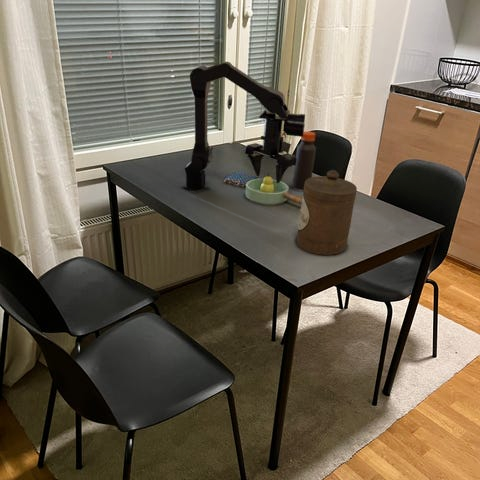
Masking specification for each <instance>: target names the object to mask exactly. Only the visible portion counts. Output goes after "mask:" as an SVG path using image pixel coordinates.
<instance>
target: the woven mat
mask: <svg viewBox="0 0 480 480" xmlns="http://www.w3.org/2000/svg"><path fill="white" fill-rule="evenodd" d="M254 179H259V176H255V175H252V174H247V173H242V172H240V171H237V172H236V171H234V172H232V173H230V174H229V175H226V176H225V177H223V182H224V183H228V184H232V185H234V186H240V187H243V188H244V187H246V184H247V182H249V181H250V180H254Z"/></svg>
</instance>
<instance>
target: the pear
mask: <svg viewBox="0 0 480 480" xmlns="http://www.w3.org/2000/svg"><path fill="white" fill-rule="evenodd" d="M262 179H263V183H262V184H261V186H260V191H261V192H264V193H273V192H274V185H273V184H272V183H273V180H274V178H272V176H270V173H269V172H268V173H267V175H266V176H265V177H263V178H262Z"/></svg>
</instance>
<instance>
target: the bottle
mask: <svg viewBox="0 0 480 480" xmlns="http://www.w3.org/2000/svg"><path fill="white" fill-rule="evenodd" d="M300 141H301V142H300V143H299V144H298V145H297V146H296V153H295V156H296V158H297V161H296V164H295V165H294V170H293V176H292V177H293V178H292V184H291V185H292V188H293V189H296V190H299V191H300V190H301V191H304V184H305V181H306V180H307V179H309V178H312V177H313V172H314V166H315V165H314V164H315V158H316V151H317V147H316V146H315V145H314V143H315V141H316V133H315V132H313V131H304V134H303V137H300Z"/></svg>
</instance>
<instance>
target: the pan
mask: <svg viewBox="0 0 480 480" xmlns="http://www.w3.org/2000/svg"><path fill="white" fill-rule="evenodd" d="M263 179H264V178H258V179H254V180H250V181H249V182H247V184H246V186H245V193H244V195H245V198H247V199H249V200H250V201H252V202H255V203H259V204H265V205H274V204H275V205H276V204H277V205H278V204H282V203H285V202H286V201H288V199H285V198H284V197H283V194H284V193H289V189H290V188H289V185H288V184H286V183H285V182H284V181H280V183H278V184H277V182H276V179H273V183H272V184H273V185H274V192H273V193H264V192H261V191H260V186H261V184H262V183H263Z"/></svg>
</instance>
